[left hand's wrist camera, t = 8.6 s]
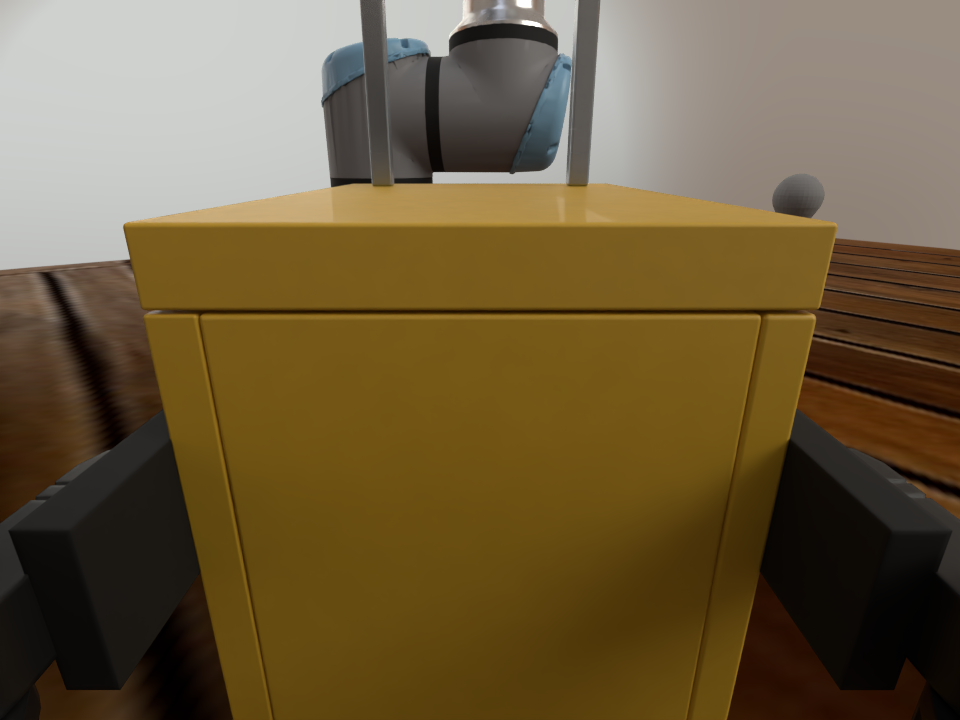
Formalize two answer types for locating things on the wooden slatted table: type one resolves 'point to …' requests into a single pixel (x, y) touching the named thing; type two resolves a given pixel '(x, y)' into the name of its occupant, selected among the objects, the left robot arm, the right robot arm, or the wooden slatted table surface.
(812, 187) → the light bulb
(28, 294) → the wooden slatted table surface
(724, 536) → the chest
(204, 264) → the lid
